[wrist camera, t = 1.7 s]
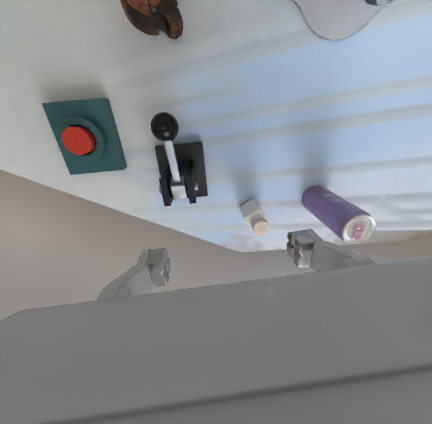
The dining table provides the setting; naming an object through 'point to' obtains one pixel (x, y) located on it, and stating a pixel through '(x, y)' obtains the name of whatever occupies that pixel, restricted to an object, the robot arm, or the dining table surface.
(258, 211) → the pepper shaker
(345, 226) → the beverage can
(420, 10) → the dining table surface
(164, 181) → the lever stand
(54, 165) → the dining table surface
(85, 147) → the button
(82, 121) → the teal base plate
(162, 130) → the lever handle
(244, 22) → the dining table surface
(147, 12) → the brown clay jug
